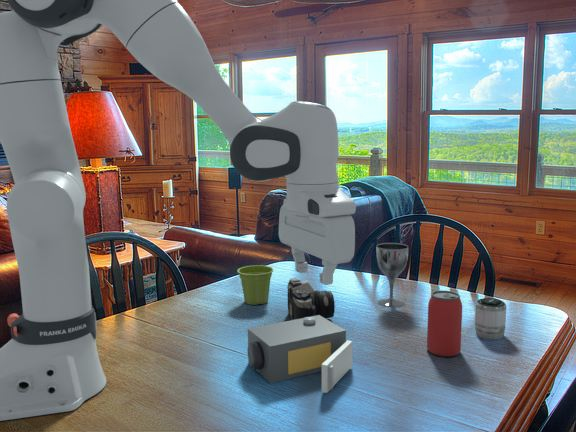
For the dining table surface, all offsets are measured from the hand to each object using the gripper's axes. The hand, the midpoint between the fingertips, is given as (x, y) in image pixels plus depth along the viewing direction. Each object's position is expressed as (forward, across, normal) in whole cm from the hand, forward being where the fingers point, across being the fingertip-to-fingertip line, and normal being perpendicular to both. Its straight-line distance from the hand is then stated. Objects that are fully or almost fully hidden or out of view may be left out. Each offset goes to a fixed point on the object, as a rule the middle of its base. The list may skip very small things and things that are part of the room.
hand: (313, 277), depth 98 cm
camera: (+20, -28, +15) cm, 37 cm away
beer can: (+20, 0, +30) cm, 36 cm away
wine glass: (+20, -30, +40) cm, 54 cm away
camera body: (+20, -8, +1) cm, 21 cm away
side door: (+19, +1, +4) cm, 20 cm away
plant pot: (+20, -48, +10) cm, 52 cm away
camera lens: (+20, -2, +45) cm, 49 cm away
